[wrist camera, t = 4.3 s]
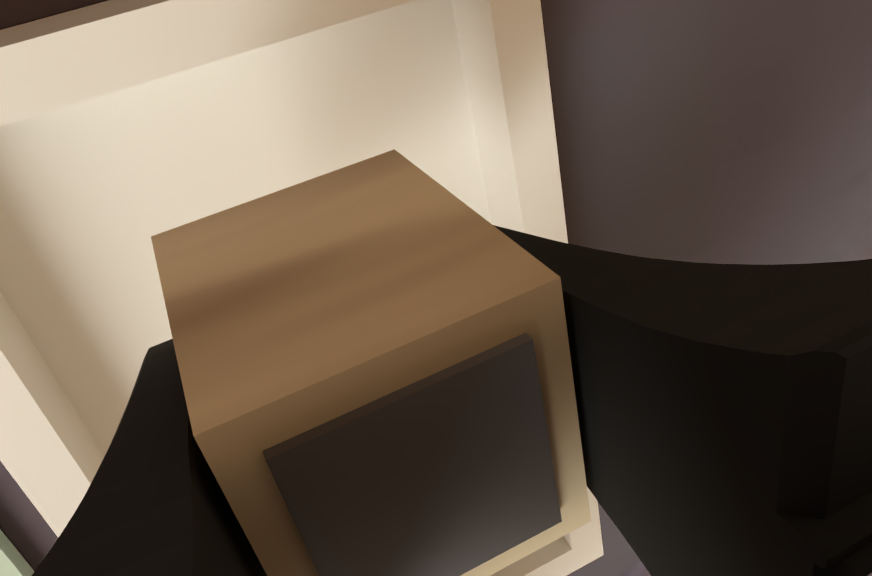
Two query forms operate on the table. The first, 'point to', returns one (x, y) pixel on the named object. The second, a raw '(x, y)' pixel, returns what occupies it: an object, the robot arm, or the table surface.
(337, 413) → the labelled block
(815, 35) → the table surface
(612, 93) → the table surface
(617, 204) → the table surface
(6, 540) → the pad
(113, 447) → the robot arm
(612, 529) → the table surface
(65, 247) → the tray
